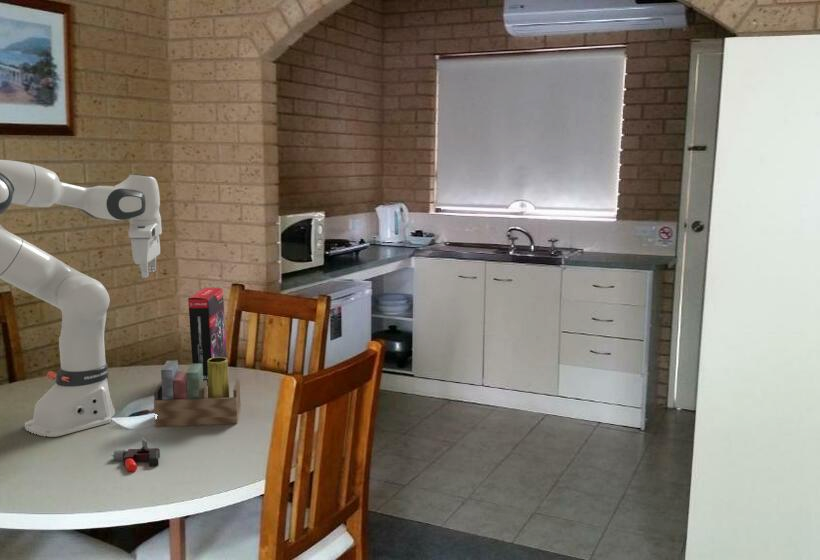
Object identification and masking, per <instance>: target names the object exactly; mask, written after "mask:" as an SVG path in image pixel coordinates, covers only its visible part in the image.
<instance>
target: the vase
mask: <svg viewBox="0 0 820 560" xmlns="http://www.w3.org/2000/svg"><path fill="white" fill-rule="evenodd" d="M228 361H229V360H228V357H227V358H225V357H214V358H210V359H208V360H207V367H208V383H207V397H208V398H230V385H229V383H230V382H229V366H228V365H229V364H228V363H229V362H228Z"/></svg>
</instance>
